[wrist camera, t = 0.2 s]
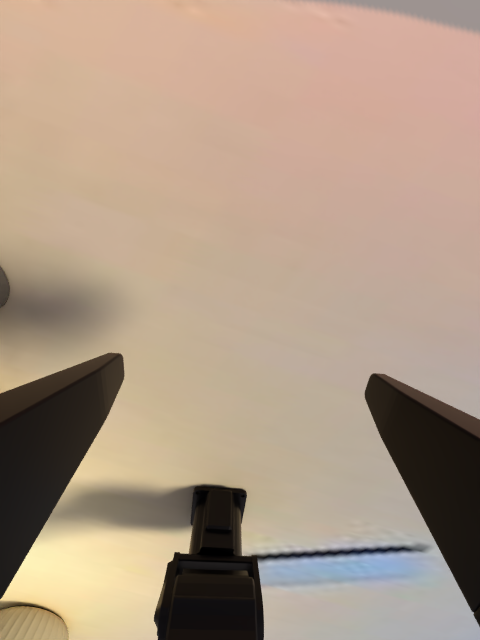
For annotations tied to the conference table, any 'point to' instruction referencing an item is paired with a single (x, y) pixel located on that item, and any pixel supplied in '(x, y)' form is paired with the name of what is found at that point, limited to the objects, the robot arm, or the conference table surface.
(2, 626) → the canister
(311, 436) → the conference table surface
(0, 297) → the bottle
